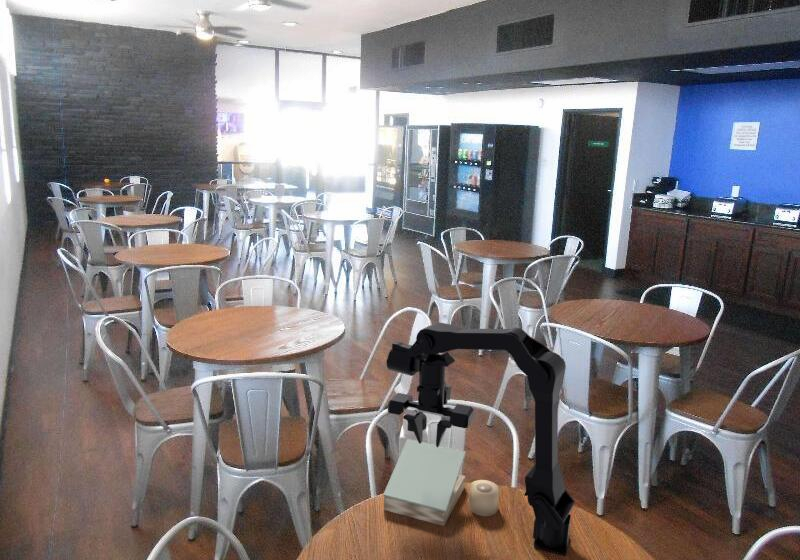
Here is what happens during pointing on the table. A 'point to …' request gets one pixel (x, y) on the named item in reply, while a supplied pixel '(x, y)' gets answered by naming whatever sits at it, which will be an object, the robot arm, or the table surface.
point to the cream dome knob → (483, 498)
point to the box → (424, 512)
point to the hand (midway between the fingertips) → (429, 444)
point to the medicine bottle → (412, 433)
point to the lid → (425, 475)
